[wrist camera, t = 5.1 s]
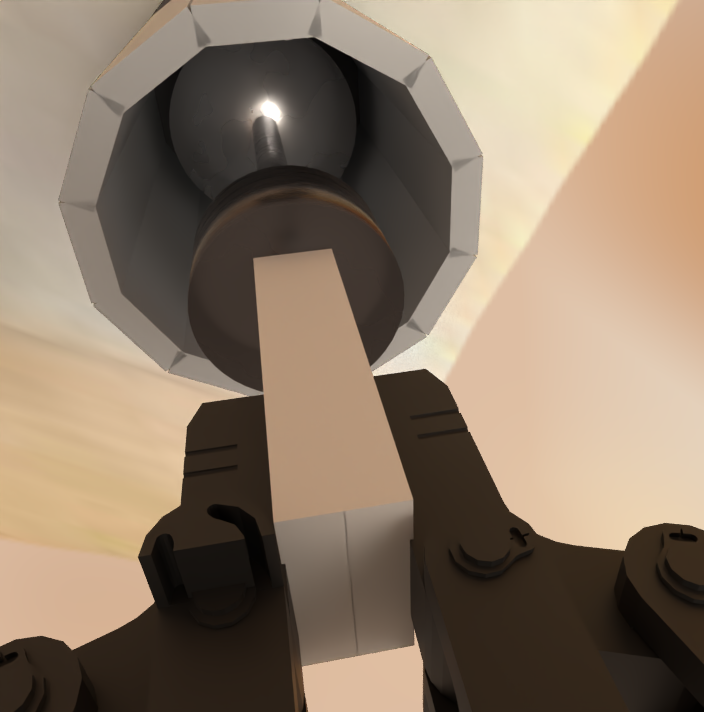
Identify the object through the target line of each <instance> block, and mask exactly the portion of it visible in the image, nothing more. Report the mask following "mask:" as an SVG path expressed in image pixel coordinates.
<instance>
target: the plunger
mask: <svg viewBox="0 0 704 712" xmlns="http://www.w3.org/2000/svg"><path fill="white" fill-rule="evenodd" d="M169 125H170V132H171V139H172V142H173V146H174V149H175V152H176V154H177V157H178V159H179V162H180V163H181V165H182V167H183V169H184V170H185V172H186V174H187V175H188V176H189V178H190V179H191V180H192V182H193V183H194V184H195V185H196V186H197V187H198V188H199V189H200V190H201V191H202V192H203V193H204V194H206V195H207V196H208V197H209V198H211V199H212V200H213V201H212V202H211V203H210V205H209V206H208V208H207V209H206V211H205V212H204V214H203V216H202V218H201V220H200V222H199V225H198V228H197V231H196V234H195V240H194V246H193V255H192V264H191V273H190V282H189V291H188V315H189V321H190V325H191V328H192V332H193V335H194V337H195V339H196V341H197V343H198V345H199V347H200V348H201V350H202V351H203V353H204V354H205V356H206V357H207V358H208V359H209V360H210V361H211V363H212V364H213V365H214V366H215V367H216V368H218V369H219V370H220V371H221V372H222V373H224V374H225V375H226V376H228V377H229V378H231V379H233V380H234V381H236V382H238V383H240V384H242V385H244V386H246V387H249V388H252V389H255V390H257V391H261V392H263V379H262V366H261V353H260V340H259V327H258V314H257V301H256V288H255V275H254V262H253V258H258V257H266V256H274V255H282V254H291V253H299V252H307V251H315V250H323V249H331V248H332V252H333V255H334V258H335V261H336V264H337V267H338V270H339V273H340V276H341V279H342V282H343V285H344V288H345V291H346V295H347V298H348V301H349V304H350V307H351V310H352V313H353V316H354V319H355V322H356V325H357V328H358V331H359V334H360V338H361V341H362V344H363V347H364V350H365V353H366V356H367V359H368V362H369V365H370V367H371V366H372V365H373V364H374V363H375V362H376V361H377V360H378V359H379V358H380V357H381V355H382V354H383V353H384V352H385V351H386V349H387V348H388V346H389V345H390V343H391V342H392V340H393V338H394V336H395V334H396V332H397V330H398V327H399V324H400V322H401V319H402V314H403V309H404V296H405V294H404V283H403V279H402V274H401V270H400V268H399V265H398V263H397V260H396V258H395V256H394V254H393V252H392V250H391V248H390V246H389V244H388V243H387V241H386V239H385V237H384V235H383V233H382V231H381V229H380V227H379V225H378V223H377V221H376V219H375V217H374V215H373V213H372V212H371V210H370V208H369V207H368V205H367V204H366V202H365V201H364V200H363V199H362V197H361V196H360V195H359V194H358V193H357V192H356V191H355V190H354V189H353V188H352V187H351V186H349V185H348V184H346V183H345V182H344V181H342V180H341V179H340V177H341V176H342V174H343V172H344V171H345V169H346V167H347V165H348V163H349V160H350V158H351V155H352V151H353V148H354V144H355V137H356V112H355V105H354V101H353V97H352V94H351V91H350V88H349V86H348V83H347V81H346V79H345V77H344V76H343V74H342V72H341V70H340V69H339V68H338V66H337V65H336V63H335V62H334V61H333V59H332V58H331V57H330V56H329V55H328V54H327V53H326V52H325V51H324V50H323V48H322V47H320V46H319V45H318V44H317V43H315V42H314V41H313V40H312V39H310V38H299V39H287V40H276V41H265V42H254V43H242V44H231V45H220V46H209V47H205V48H204V49H202V50H201V51H200V52H199V53H197V54H196V55H195V56H194V57H192V58H191V59H190V60H189V61H188V62H186V63H185V64H184V66H183V67H182V69H181V71H180V73H179V75H178V78H177V80H176V83H175V86H174V89H173V93H172V97H171V102H170V111H169Z"/></svg>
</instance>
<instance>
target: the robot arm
mask: <svg viewBox="0 0 704 712" xmlns="http://www.w3.org/2000/svg"><path fill="white" fill-rule="evenodd" d="M253 262H254V275H255V288H256V301H257V314H258V327H259V340H260V353H261V366H262V379H263V392H264V394H263V395H256V396H249V397H242V398H235V399H228V400H221V401H214V402H207V403H202V405H201V406H200V408H199V409H198V411H197V412H196V414H195V416H194V417H193V419H192V420H191V422H190V423H189V425H188V426H187V435H186V447H185V454H186V457H185V459H184V471H183V474H184V478H183V483H182V495H181V506H179V507H178V508H176V509H174V510H173V511H171V512H170V513H168V514H166V515H165V516H163V517H162V518H161V519H160V520H159V521H158V523H157V524H156V525H155V526H154V527H153V528H152V529H151V531H150V532H149V533H148V534H147V535H146V537H145V540H144V542H143V545H142V548H141V550H140V553H139V556H138V558H139V561H140V563H141V566H142V568H143V571H144V574H145V576H146V579H147V582H148V584H149V587H150V590H151V592H152V595H153V598H154V600H155V602H154V604H153V605H151V606H150V607H149V608H148V609H147V610H146V611H144V612H143V613H142V614H141V615H140V616H138V617H137V618H136V619H134V620H132V621H131V622H129V623H127V624H126V625H124V626H122V627H120V628H118V629H116V630H114V631H112V632H110V633H108V634H106V635H104V636H102V637H100V638H97V639H95V640H93V641H91V642H89V643H87V644H85V645H83V646H80V647H78V648H76V649H74V650H71V649H70V648H69V647H68V646H67V645H66V644H65V643H64V642H63V641H59V640H55V639H52V638H48V637H44V636H37V637H30V638H24V639H16V640H14V641H11V642H9V643H7V644H5V645H3V646H0V712H308V710H307V704H306V698H305V693H304V685H303V674H302V666H306V665H312V664H317V663H323V662H328V661H333V660H338V659H344V658H349V657H355V656H360V655H365V654H370V653H376V652H381V651H386V650H392V649H397V648H402V647H408V646H413V645H414V629H415V633H416V637H417V641H418V644H419V648H420V652H421V656H422V659H423V712H704V530H701V529H698V528H696V527H693V526H690V525H680V524H669V523H663V524H659V525H654V526H649V527H645V528H643V529H642V530H640V531H639V532H638V533H636V534H635V535H634V536H632V537H631V538H630V539H629V541H628V544H627V546H626V549H625V551H620V550H611V549H602V548H593V547H583V546H575V545H570V544H565V543H560V542H555V541H553V540H550V539H548V538H545V537H543V536H540V535H538V534H536V532H535V531H534V530H533V529H532V527H531V526H530V525H529V524H528V523H527V522H525V521H523V520H522V519H520V518H519V517H517V516H516V515H514V514H513V513H511V512H509V510H508V508H507V507H506V505H505V504H504V502H503V500H502V498H501V496H500V494H499V492H498V490H497V487H496V485H495V483H494V481H493V479H492V477H491V475H490V473H489V471H488V469H487V467H486V465H485V463H484V461H483V459H482V456H481V454H480V452H479V450H478V448H477V446H476V444H475V442H474V440H473V438H472V436H471V434H470V432H468V429H467V425H466V423H465V421H464V419H463V417H462V415H461V413H459V411H458V407H457V404H456V402H455V400H454V398H453V396H452V394H451V392H450V390H449V388H448V386H447V385H446V384H444V383H443V382H442V381H440V380H439V379H438V378H437V377H435V376H434V375H433V374H432V373H430V372H429V371H428V370H427V369H422V370H415V371H408V372H401V373H394V374H387V375H380V376H373V374H372V371H371V368H370V365H369V362H368V359H367V356H366V353H365V350H364V347H363V344H362V341H361V338H360V334H359V331H358V328H357V325H356V322H355V319H354V316H353V313H352V310H351V307H350V304H349V301H348V298H347V295H346V291H345V288H344V285H343V282H342V279H341V276H340V273H339V270H338V267H337V264H336V261H335V258H334V255H333V252H332V248H331V249H323V250H315V251H307V252H299V253H291V254H282V255H274V256H266V257H258V258H253Z"/></svg>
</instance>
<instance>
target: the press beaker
mask: <svg viewBox="0 0 704 712" xmlns="http://www.w3.org/2000/svg"><path fill="white" fill-rule="evenodd" d="M299 38H310V39H312V40H313V41H314V42H315V43H317V44H318V45H319V46H320V47H322V48H323V50H324V51H325V52H326V53H327V54H328V55H329V56H330V57H331V58H332V59H333V61H334V62H335V63H336V65H337V66H338V68H339V69H340V70H341V72H342V74H343V76H344V77H345V79H346V81H347V83H348V86H349V88H350V91H351V94H352V97H353V101H354V105H355V112H356V137H355V144H354V148H353V151H352V155H351V158H350V160H349V163H348V165H347V167H346V169H345V171H344V172H343V174H342V176H341V177H340V179H341V180H342V181H344V182H345V183H346V184H348V185H349V186H351V187H352V188H353V189H354V190H355V191H356V192H357V193H358V194H359V195H360V196H361V197H362V199H363V200H364V201H365V202H366V204H367V205H368V207H369V208H370V210H371V212H372V213H373V215H374V217H375V219H376V221H377V223H378V225H379V227H380V229H381V231H382V233H383V235H384V237H385V239H386V241H387V243H388V244H389V246H390V248H391V250H392V252H393V254H394V256H395V258H396V260H397V263H398V265H399V268H400V270H401V274H402V279H403V283H404V294H405V296H404V309H403V314H402V319H401V322H400V324H399V327H398V330H397V332H396V334H395V336H394V338H393V340H392V342H391V343H390V345H389V346H388V348H387V349H386V351H385V352H384V353H383V354H382V355H381V357H380V358H379V359H378V360H377V361H376V362H375V363H374V364H373V365H372V366H371V367H370V368H371V371H374V370H375V369H377V368H378V367H380V366H382V365H383V364H385V363H386V362H388V361H389V360H391V359H393V358H394V357H396V356H397V355H399V354H400V353H402V352H404V351H405V350H407V349H408V348H410V347H411V346H413V345H415V344H416V343H418V342H419V341H421V340H423V339H424V338H426V335H425V334H427V335H429V333H430V332H431V330H432V329H433V327H434V325H435V324H436V322H437V320H438V319H439V317H440V316H441V314H442V312H443V311H444V309H445V308H446V306H447V304H448V303H449V301H450V299H451V298H452V296H453V295H454V293H455V291H456V290H457V288H458V287H459V285H460V283H461V282H462V280H463V278H464V277H465V275H466V274H467V272H468V270H469V269H470V267H471V266H472V264H473V262H474V261H475V259H476V256H475V255H477V254H478V239H479V221H480V203H481V185H482V168H483V156H482V155H481V154H482V152H481V150H480V148H479V146H478V144H477V142H476V140H475V138H474V137H473V135H472V133H471V131H470V129H469V127H468V125H467V123H466V122H465V120H464V118H463V116H462V114H461V112H460V110H459V108H458V107H457V105H456V103H455V101H454V99H453V97H452V95H451V93H450V91H449V90H448V88H447V86H446V84H445V82H444V80H443V78H442V76H441V75H440V73H439V71H438V69H437V67H436V65H435V63H434V61H433V60H432V58H431V57H430V56H428V54H427V53H425V52H424V51H422V50H420V49H419V48H417V47H415V46H414V45H412V44H411V43H409V42H407V41H406V40H404V39H403V38H401V37H399V36H398V35H396V34H394V33H393V32H391V31H390V30H388V29H386V28H385V27H383V26H382V25H380V24H378V23H377V22H375V21H373V20H372V19H370V18H369V17H367V16H365V15H364V14H362V13H361V12H359V11H357V10H356V9H354V8H352V7H351V6H349V5H348V4H346V3H344V2H343V1H341V0H164V1H163V2H162V3H161V5H160V6H159V7H158V9H157V10H156V11H155V12H154V14H153V15H152V17H151V18H150V19H149V21H148V22H147V23H146V24H145V25H144V26H143V27H142V29H141V30H140V31H139V32H138V33H137V34H136V35H135V36H134V38H133V39H132V40H131V41H130V42H129V43H128V44H127V46H126V47H125V48H124V49H123V50H122V51H121V52H120V53H119V55H118V56H117V57H116V58H115V59H114V60H113V61H112V62H111V64H110V65H109V66H108V67H107V68H106V69H105V70H104V72H103V73H102V74H101V75H100V76H99V77H98V78H97V79H96V81H95V82H94V83H93V84H92V85H91V86H90V88H89V89H88V93H87V96H86V100H85V104H84V108H83V111H82V115H81V119H80V122H79V126H78V130H77V133H76V137H75V141H74V144H73V148H72V152H71V156H70V159H69V163H68V167H67V170H66V174H65V178H64V181H63V185H62V189H61V193H60V196H59V201H60V202H59V206H60V210H61V213H62V216H63V219H64V222H65V225H66V228H67V231H68V234H69V237H70V240H71V243H72V246H73V249H74V252H75V255H76V258H77V261H78V264H79V267H80V270H81V273H82V276H83V279H84V282H85V285H86V288H87V291H88V294H89V297H90V300H91V303H94V305H93V306H94V307H95V308H96V309H97V310H98V311H100V312H101V313H102V314H103V315H104V316H105V317H106V318H107V319H108V320H109V321H111V322H112V323H113V324H114V325H115V326H116V327H117V328H118V329H119V330H121V331H122V332H123V333H124V334H125V335H126V336H127V337H128V338H129V339H130V340H132V341H133V342H134V343H135V344H136V345H137V346H138V347H139V348H140V349H142V350H143V351H144V352H145V353H146V354H147V355H148V356H149V357H150V358H151V359H153V360H154V361H155V362H156V363H157V364H158V365H159V366H160V367H161V368H163V369H164V370H165V371H167V370H168V369H169V371H168V373H171V374H174V375H178V376H181V377H185V378H188V379H192V380H195V381H199V382H202V383H206V384H209V385H213V386H216V387H220V388H223V389H227V390H230V391H234V392H237V393H241V394H244V395H248V396H256V395H263V394H264V392H261V391H257V390H255V389H252V388H249V387H246V386H244V385H242V384H240V383H238V382H236V381H234V380H233V379H231V378H229V377H228V376H226V375H225V374H224V373H222V372H221V371H220V370H219V369H218V368H216V367H215V366H214V365H213V364H212V363H211V361H210V360H209V359H208V358H207V357H206V356H205V354H204V353H203V351H202V350H201V348H200V347H199V345H198V343H197V341H196V339H195V337H194V335H193V332H192V328H191V325H190V321H189V315H188V291H189V282H190V273H191V264H192V255H193V246H194V240H195V234H196V231H197V228H198V225H199V222H200V220H201V218H202V216H203V214H204V212H205V211H206V209H207V208H208V206H209V205H210V203H211V202H212V201H213V200H212V199H211V198H209V197H208V196H207V195H206V194H204V193H203V192H202V191H201V190H200V189H199V188H198V187H197V186H196V185H195V184H194V183H193V182H192V180H191V179H190V178H189V176H188V175H187V174H186V172H185V170H184V169H183V167H182V165H181V163H180V162H179V159H178V157H177V154H176V152H175V149H174V146H173V142H172V139H171V132H170V125H169V111H170V102H171V97H172V93H173V89H174V86H175V83H176V80H177V78H178V75H179V73H180V71H181V69H182V67H183V66H184V64H185V63H186V62H188V61H189V60H190V59H191V58H192V57H194V56H195V55H196V54H197V53H199V52H200V51H201V50H202V49H204V48H205V47H209V46H220V45H231V44H242V43H254V42H265V41H276V40H287V39H299Z"/></svg>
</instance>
